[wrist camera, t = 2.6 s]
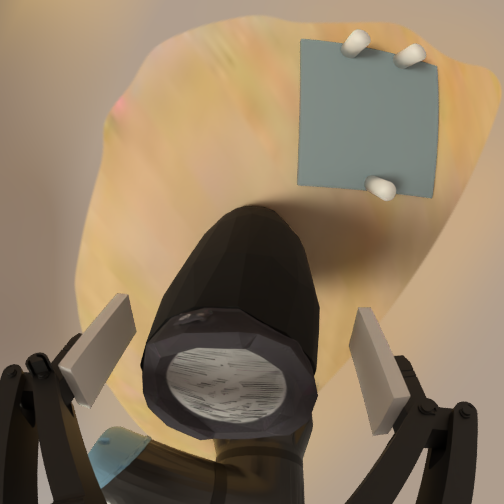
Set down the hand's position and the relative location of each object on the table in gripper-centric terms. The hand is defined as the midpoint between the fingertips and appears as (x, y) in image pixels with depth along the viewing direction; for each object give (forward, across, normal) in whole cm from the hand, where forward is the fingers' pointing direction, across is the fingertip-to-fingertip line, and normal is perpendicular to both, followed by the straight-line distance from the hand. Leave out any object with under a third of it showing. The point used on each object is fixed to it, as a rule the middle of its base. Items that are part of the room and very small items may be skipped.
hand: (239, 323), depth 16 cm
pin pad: (+14, -11, -12) cm, 22 cm away
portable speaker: (+14, 0, 0) cm, 14 cm away
